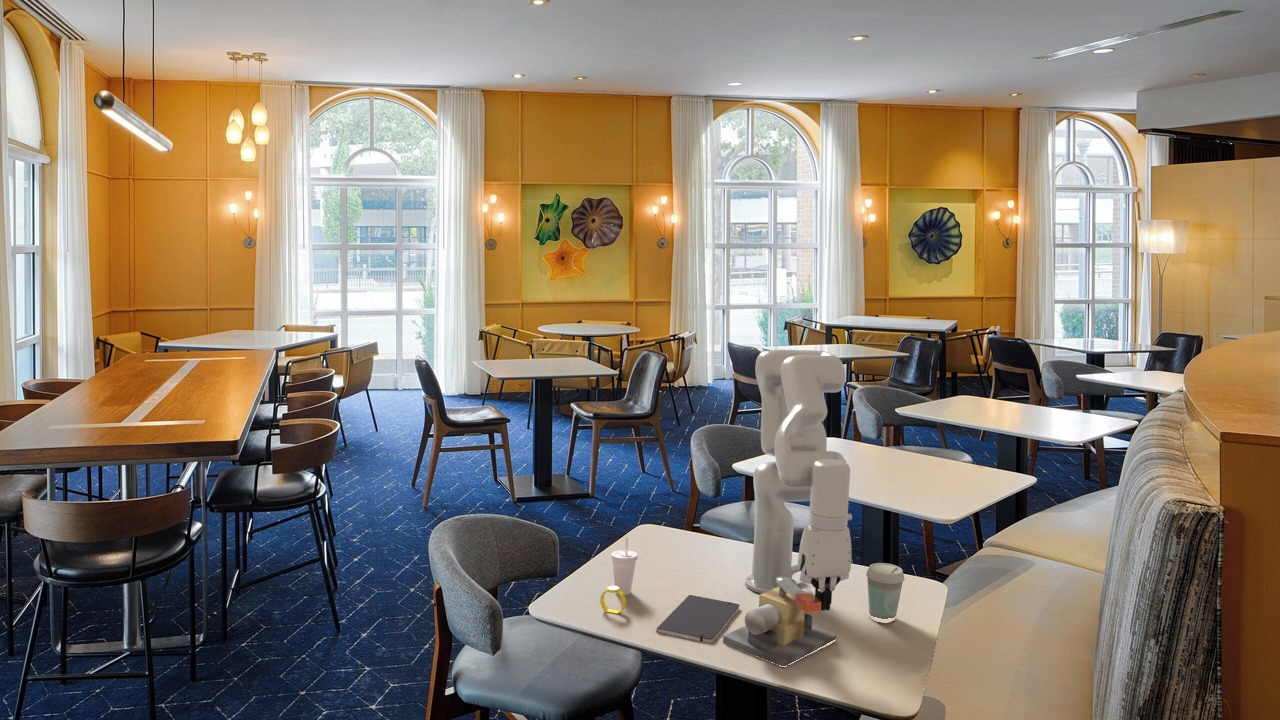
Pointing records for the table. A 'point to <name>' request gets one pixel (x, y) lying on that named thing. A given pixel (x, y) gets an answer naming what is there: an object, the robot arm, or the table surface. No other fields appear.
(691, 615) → the notebook
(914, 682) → the table surface
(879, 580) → the coffee cup
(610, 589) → the watch
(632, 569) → the smoothie
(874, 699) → the table surface
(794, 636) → the valve stand
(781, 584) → the lever
